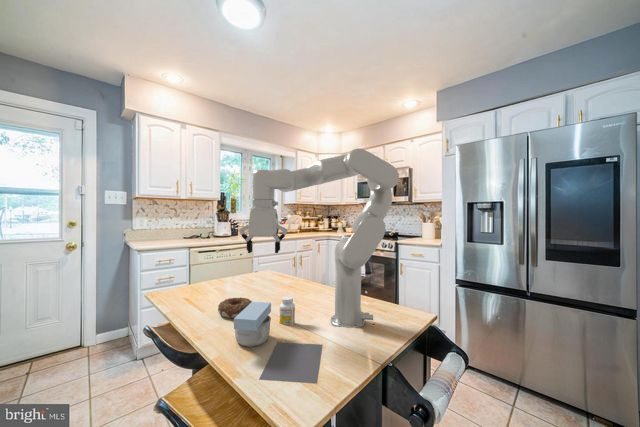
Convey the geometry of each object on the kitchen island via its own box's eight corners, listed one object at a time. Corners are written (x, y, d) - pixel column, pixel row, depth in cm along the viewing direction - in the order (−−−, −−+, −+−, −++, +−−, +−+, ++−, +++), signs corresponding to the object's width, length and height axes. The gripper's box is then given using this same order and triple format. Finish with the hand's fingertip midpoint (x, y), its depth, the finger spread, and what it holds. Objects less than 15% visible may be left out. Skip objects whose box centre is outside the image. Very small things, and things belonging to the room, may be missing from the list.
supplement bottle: (287, 320, 100) (287, 294, 100) (297, 324, 97) (297, 297, 97) (276, 324, 96) (276, 298, 96) (286, 329, 93) (287, 301, 92)
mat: (322, 347, 80) (322, 344, 80) (316, 387, 62) (316, 383, 62) (277, 345, 81) (277, 342, 81) (258, 383, 63) (258, 379, 63)
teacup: (232, 338, 85) (232, 314, 85) (265, 332, 90) (266, 309, 90) (239, 361, 73) (239, 332, 73) (277, 352, 77) (278, 325, 77)
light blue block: (270, 311, 88) (271, 302, 88) (256, 330, 74) (256, 319, 74) (252, 310, 88) (252, 301, 88) (233, 329, 75) (233, 318, 75)
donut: (209, 316, 103) (210, 303, 103) (235, 305, 116) (235, 293, 116) (238, 323, 97) (238, 309, 97) (261, 310, 109) (261, 298, 109)
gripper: (289, 205, 98) (289, 251, 98) (242, 205, 99) (242, 250, 99) (285, 204, 91) (285, 254, 91) (235, 204, 91) (235, 254, 91)
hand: (263, 252), depth 95 cm, fingers open, 9 cm apart
